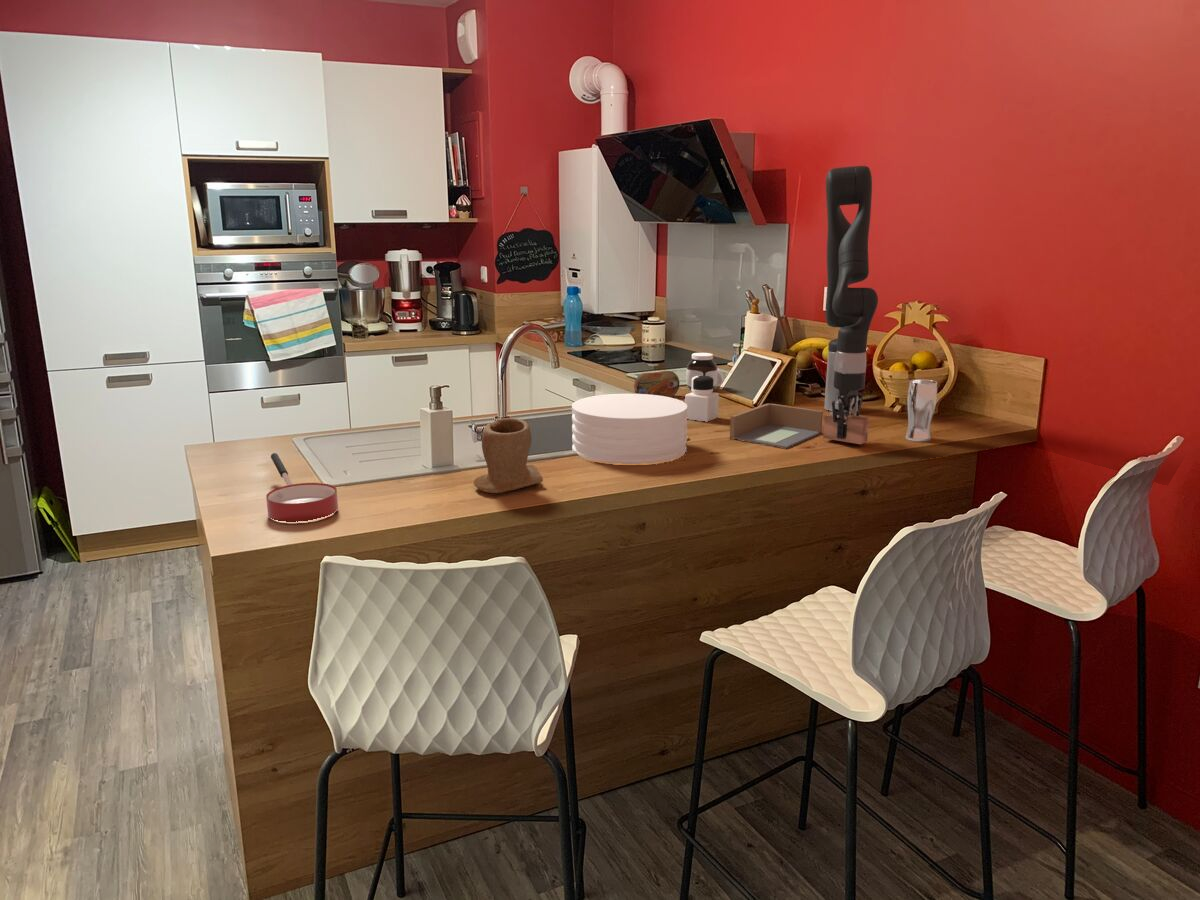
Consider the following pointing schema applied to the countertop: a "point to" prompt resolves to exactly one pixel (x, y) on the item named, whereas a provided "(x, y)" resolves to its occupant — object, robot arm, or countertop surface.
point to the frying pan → (300, 499)
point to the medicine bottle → (702, 400)
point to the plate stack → (629, 428)
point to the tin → (657, 383)
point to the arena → (776, 425)
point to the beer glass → (920, 408)
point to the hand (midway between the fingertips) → (845, 436)
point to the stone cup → (507, 457)
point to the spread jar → (703, 369)
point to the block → (855, 429)
